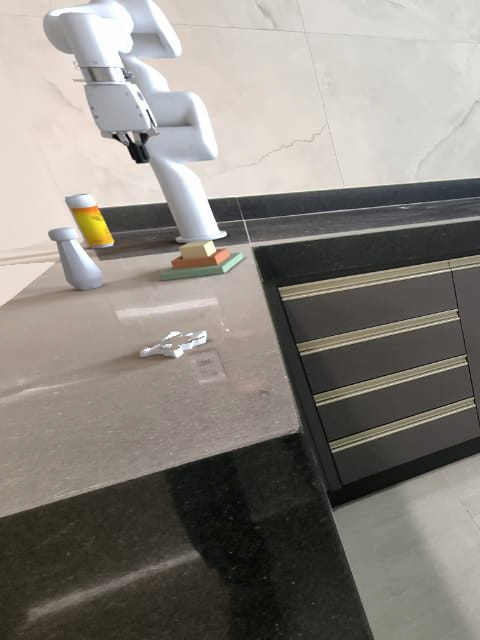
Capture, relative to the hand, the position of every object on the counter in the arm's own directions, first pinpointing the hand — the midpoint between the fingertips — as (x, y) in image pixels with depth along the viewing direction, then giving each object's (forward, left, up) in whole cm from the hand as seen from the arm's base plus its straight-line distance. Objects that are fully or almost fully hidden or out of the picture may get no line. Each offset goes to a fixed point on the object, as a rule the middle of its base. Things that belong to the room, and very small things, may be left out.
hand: (143, 163), depth 128 cm
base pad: (+15, +9, -24) cm, 30 cm away
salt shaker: (+21, -11, -24) cm, 34 cm away
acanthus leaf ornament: (+74, +22, -24) cm, 81 cm away
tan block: (+15, +9, -22) cm, 28 cm away
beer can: (-36, -32, -24) cm, 54 cm away
